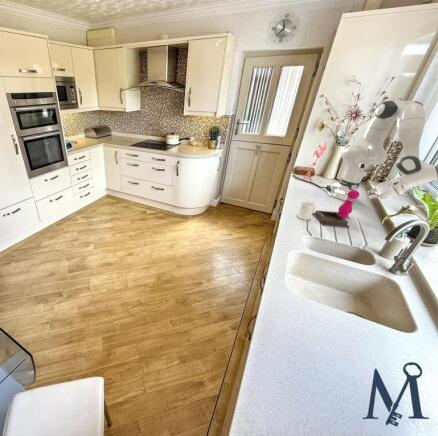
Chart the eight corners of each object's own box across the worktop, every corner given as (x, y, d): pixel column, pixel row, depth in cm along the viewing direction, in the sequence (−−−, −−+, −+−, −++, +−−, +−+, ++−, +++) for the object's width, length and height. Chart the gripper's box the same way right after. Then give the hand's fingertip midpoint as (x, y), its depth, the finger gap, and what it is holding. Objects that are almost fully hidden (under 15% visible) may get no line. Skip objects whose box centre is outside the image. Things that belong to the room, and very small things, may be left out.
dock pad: (311, 213, 160) (313, 209, 158) (334, 215, 159) (337, 211, 157) (323, 225, 147) (325, 220, 145) (348, 227, 146) (351, 222, 144)
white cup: (309, 216, 157) (315, 203, 152) (310, 221, 150) (317, 208, 145) (296, 213, 159) (301, 200, 154) (297, 218, 153) (302, 205, 148)
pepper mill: (350, 218, 156) (366, 191, 146) (338, 217, 157) (353, 190, 147) (345, 213, 162) (359, 187, 152) (333, 212, 163) (347, 185, 153)
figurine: (301, 182, 214) (317, 143, 197) (302, 174, 233) (317, 138, 216) (321, 185, 207) (339, 146, 190) (320, 177, 227) (337, 140, 209)
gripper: (392, 176, 145) (364, 186, 155) (397, 185, 130) (366, 196, 140) (397, 184, 145) (369, 194, 155) (403, 194, 130) (372, 205, 140)
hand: (368, 195), depth 147 cm, fingers open, 8 cm apart
